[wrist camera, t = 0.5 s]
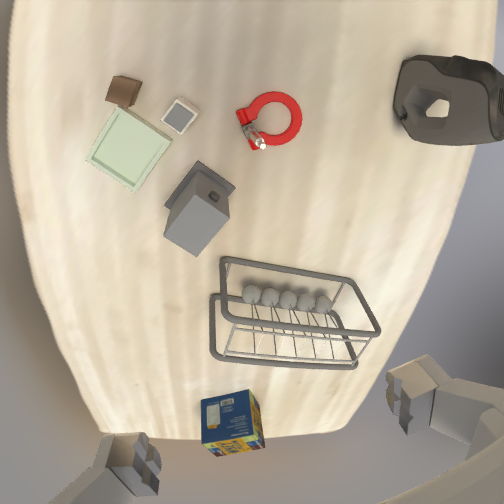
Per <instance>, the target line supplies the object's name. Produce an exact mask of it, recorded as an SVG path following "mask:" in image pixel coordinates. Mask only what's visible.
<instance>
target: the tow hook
mask: <svg viewBox="0 0 504 504" xmlns="http://www.w3.org/2000/svg"><path fill="white" fill-rule="evenodd" d="M269 102H281V103H283V104H285V105H286V106H287V107H288V108H289V110H290V112H291V116H292V120H291V124H290V127H289V128H288V129H287V130H286V131H285V132H284V133H282V134H280V135H268V134H266V133H264V132H259V133H258V131H257V129H256V128H255V127H254V125H253V123H252V122H251V121H252V120H255V119H256V118H257V115H258V113H259V110H260V109H261V108H262V107H263V106H264V105H265V104H267V103H269ZM236 113H237V116H238V118H239V120H240V122H241V126H242V129H243V131H244V133H245V135H246V137H247V139H248V141H249V143H250V145H251V148H252V150H257V149H259V148H261V149H265V148H266V144H267V145H275V146H276V145H282V144H284V143H287V142H289V141H290V140H291V139H293V138H294V137H295V136H296V134H297V133H298V132H299V130H300V127H301V124H302V113H301V110H300V107H299V105H298V104H297V102H296V101H295V100H294V99H293V98H291V97H290V96H289V95H286V94H284V93H281V92H268V93H265V94H262V95H260V96H259V97H257V98H256V99H255V100H254V101H253V102H252V104H251V105H250V107H248V108H246V109H245V108H243V109H240V110H238V111H236Z"/></svg>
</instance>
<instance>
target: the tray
mask: <svg viewBox="0 0 504 504" xmlns="http://www.w3.org/2000/svg"><path fill="white" fill-rule="evenodd" d="M171 141H172V139H171V138H169V137H168V136H166V135H165V134H164V133H162V132H161V131H159V130H158V129H156V128H155V127H153V126H152V125H150V124H149V123H147V122H146V121H145V120H143V119H142V118H140V117H139V116H137V115H136V114H134V113H133V112H131V111H130V110H128V109H127V108H125V107H124V106H121V105H119V106H117V108H116V109H115V111H114V112H113V114H112V116H111V117H110V119H109V120H108V122H107V123H106V125H105V127H104V128H103V130H102V132H101V133H100V135H99V137H98V138H97V140H96V142H95V143H94V145H93V147H92V149H91V150H90V152H89V154H88V156H87V158H86V159H85V161H87V162H88V163H90V164H91V165H93V166H94V167H96V168H97V169H99V170H100V171H102V172H103V173H105V174H106V175H108V176H110V177H111V178H113V179H114V180H116V181H117V182H119V183H120V184H122V185H123V186H125V187H126V188H128V189H129V190H131V191H132V192H134V193H136V192H137V190H138V189H139V187H140V186H141V184H142V183H143V181H144V180H145V178H146V177H147V175H148V174H149V172H150V171H151V170H152V168H153V167H154V165H155V164H156V162H157V161H158V160H159V158H160V157H161V155H162V154H163V153H164V151H165V150H166V148H167V147H168V146H169V144H170V143H171Z"/></svg>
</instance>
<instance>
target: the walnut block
mask: <svg viewBox="0 0 504 504" xmlns="http://www.w3.org/2000/svg"><path fill="white" fill-rule="evenodd" d="M141 85H142V82H140V81H137V80H134V79H131V78H127V77H124V76H113V79H112V82H111V84H110V87H109V90H108V93H107V95H106V98H105V101H109V102H112V103H115V104H118V105H121V106H125V107H130V106H132V105H134V103H135V100H136V98H137V95H138V92H139V90H140V87H141Z"/></svg>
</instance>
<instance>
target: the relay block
mask: <svg viewBox="0 0 504 504" xmlns="http://www.w3.org/2000/svg"><path fill="white" fill-rule="evenodd" d="M199 111H200V110H199V109H198V108H196V107H195V106H193V105H192V104H191V103H189V102H188V101H186V100H185V99H183V98H182V97H181V96H180V97H178V98H177V99H176V100H175V101H174V103H173V104H172V105H171V107H170V108H169V109H168V111H167V112H166V113H165V115H164V116H163V117H162V119H161V120H160V121H162V122H163V123H165V124H166V125H167V126H169V127H170V128H172V129H173V130H175V131H176V132H177V133H179V134H180V135H182V134H183V133H184V132H185V130H186V129H187V128H188V126H189V125H190V124H191V123H192V121H193V120H194V119H195V117H196V116H197V115H198V113H199Z"/></svg>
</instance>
